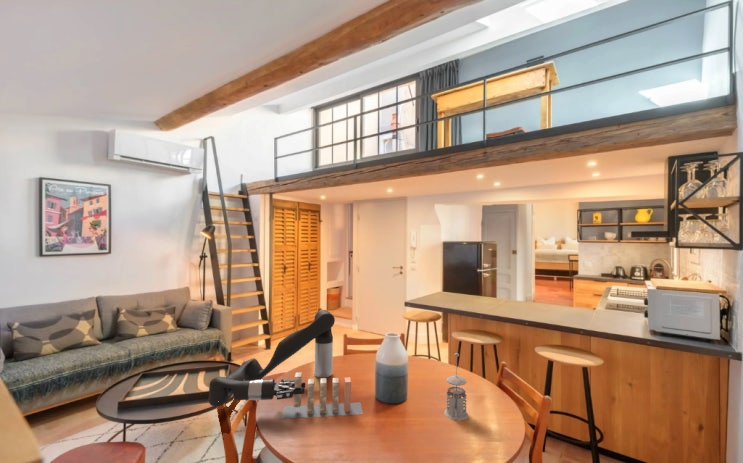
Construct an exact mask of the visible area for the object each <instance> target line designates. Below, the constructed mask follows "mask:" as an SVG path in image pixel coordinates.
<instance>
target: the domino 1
mask: <svg viewBox="0 0 743 463" xmlns="http://www.w3.org/2000/svg"><path fill="white" fill-rule="evenodd" d="M302 377H303V372H302V371H299V372H295V374H294V380H295V388H301V386H302V382H303V380H302ZM293 396H294V397H293V398H294V399H293V403H294V404H293V406H294V407H300V406H302V405H301V404H302V394H295V395H293Z"/></svg>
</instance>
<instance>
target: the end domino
mask: <svg viewBox="0 0 743 463" xmlns="http://www.w3.org/2000/svg"><path fill="white" fill-rule="evenodd" d="M343 382H344V385H343V386H344V392H343V393H344V395H343V400H344V401H343V402H344V409H345V412H351V403H352V380H351V377H350V376H349V377H344V381H343Z"/></svg>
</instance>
